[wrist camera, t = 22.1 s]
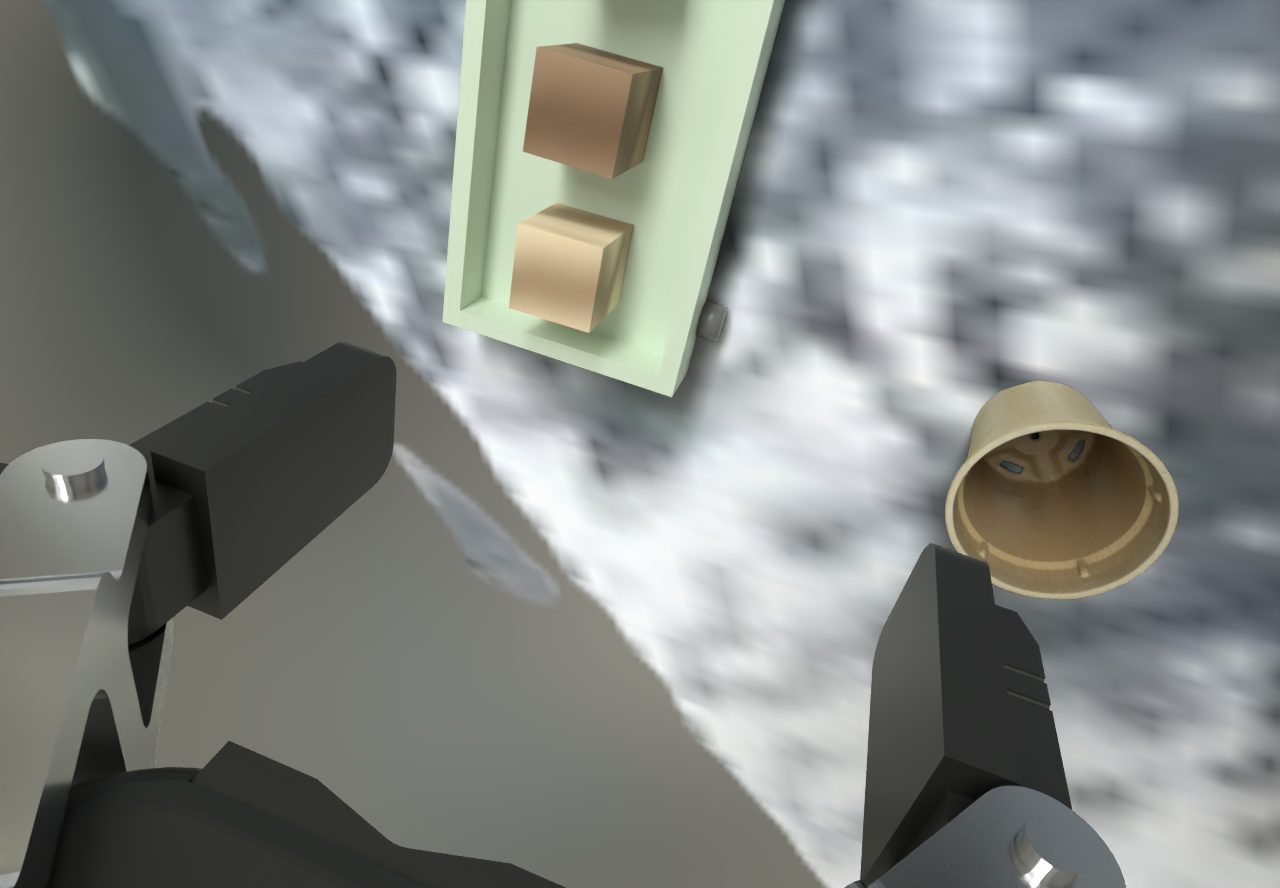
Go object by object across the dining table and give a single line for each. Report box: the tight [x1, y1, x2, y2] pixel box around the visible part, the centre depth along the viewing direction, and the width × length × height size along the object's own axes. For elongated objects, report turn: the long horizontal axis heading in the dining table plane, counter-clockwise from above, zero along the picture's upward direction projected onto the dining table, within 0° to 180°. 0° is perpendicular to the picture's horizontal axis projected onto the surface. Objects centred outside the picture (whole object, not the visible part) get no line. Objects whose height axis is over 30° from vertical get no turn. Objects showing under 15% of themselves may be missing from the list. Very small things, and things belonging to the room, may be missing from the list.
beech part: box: [509, 203, 634, 333], centre depth 41 cm, size 4×4×5 cm
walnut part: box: [523, 43, 663, 179], centre depth 37 cm, size 4×4×5 cm
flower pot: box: [945, 381, 1179, 599], centre depth 39 cm, size 9×9×9 cm
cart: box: [443, 0, 785, 397], centre depth 39 cm, size 27×16×4 cm, turn 168°
